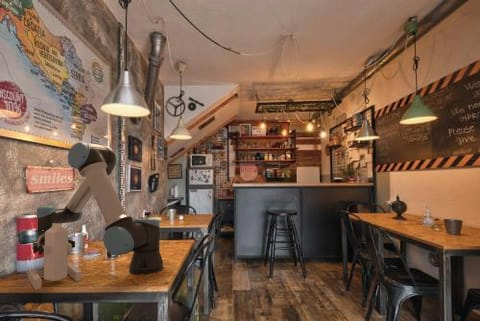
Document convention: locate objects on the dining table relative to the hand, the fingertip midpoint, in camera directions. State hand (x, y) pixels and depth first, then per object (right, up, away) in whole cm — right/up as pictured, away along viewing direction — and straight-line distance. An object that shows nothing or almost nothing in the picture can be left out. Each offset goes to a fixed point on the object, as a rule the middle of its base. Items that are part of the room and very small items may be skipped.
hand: (58, 249), depth 117 cm
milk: (-3, -13, +3) cm, 13 cm away
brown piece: (-6, -15, +7) cm, 17 cm away
